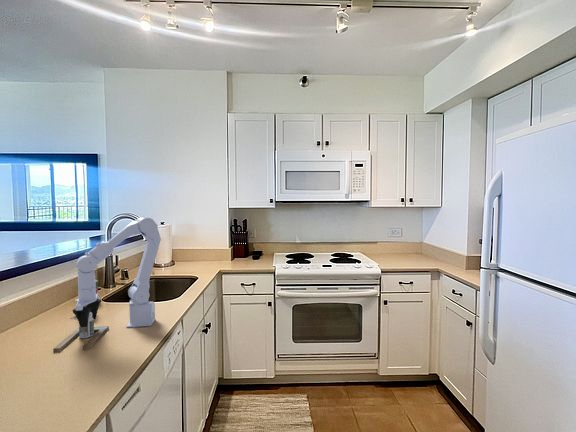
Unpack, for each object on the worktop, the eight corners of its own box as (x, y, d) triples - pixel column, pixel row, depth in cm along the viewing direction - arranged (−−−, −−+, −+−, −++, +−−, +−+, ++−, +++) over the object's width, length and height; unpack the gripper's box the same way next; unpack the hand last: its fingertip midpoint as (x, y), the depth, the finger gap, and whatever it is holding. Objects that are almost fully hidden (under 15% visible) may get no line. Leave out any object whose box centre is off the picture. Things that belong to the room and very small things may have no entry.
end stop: (108, 329, 130) (108, 326, 129) (105, 332, 127) (105, 328, 127) (78, 330, 128) (78, 327, 128) (74, 333, 125) (74, 330, 125)
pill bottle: (90, 332, 126) (90, 310, 126) (96, 335, 123) (95, 313, 123) (76, 336, 122) (76, 314, 122) (82, 339, 120) (82, 316, 119)
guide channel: (105, 332, 127) (105, 328, 127) (88, 349, 112) (88, 346, 112) (74, 333, 125) (74, 330, 125) (53, 352, 110) (53, 348, 110)
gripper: (84, 283, 130) (85, 316, 130) (65, 293, 115) (67, 331, 116) (103, 282, 131) (104, 315, 132) (87, 292, 117) (88, 329, 117)
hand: (88, 322), depth 124 cm, fingers open, 7 cm apart
